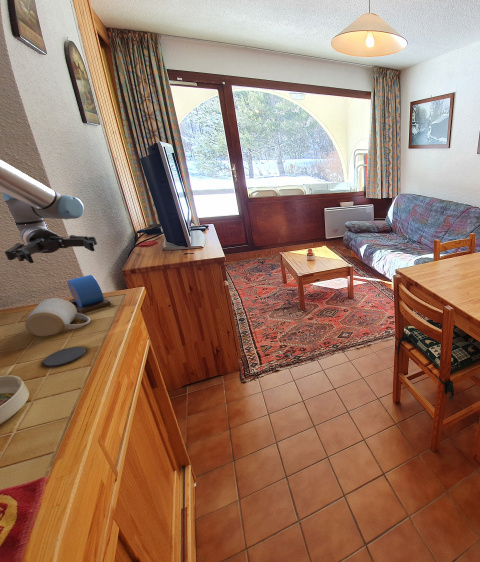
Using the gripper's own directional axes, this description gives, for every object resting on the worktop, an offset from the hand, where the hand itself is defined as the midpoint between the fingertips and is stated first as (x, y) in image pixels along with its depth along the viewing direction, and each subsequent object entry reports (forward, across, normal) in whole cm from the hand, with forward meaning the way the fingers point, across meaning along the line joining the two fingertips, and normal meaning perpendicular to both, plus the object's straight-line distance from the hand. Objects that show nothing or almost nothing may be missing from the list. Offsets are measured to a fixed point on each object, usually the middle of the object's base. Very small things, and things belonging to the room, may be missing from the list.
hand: (62, 252), depth 91 cm
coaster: (+36, +12, -15) cm, 40 cm away
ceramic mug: (+19, +8, -15) cm, 26 cm away
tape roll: (+10, 0, -14) cm, 17 cm away
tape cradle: (+10, 0, -15) cm, 18 cm away
